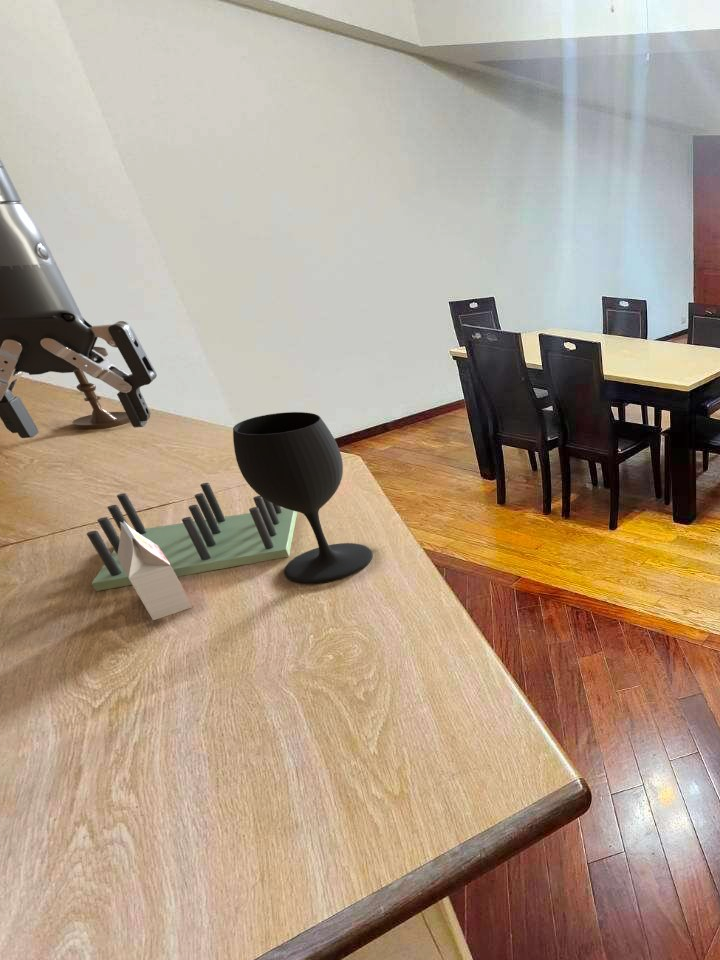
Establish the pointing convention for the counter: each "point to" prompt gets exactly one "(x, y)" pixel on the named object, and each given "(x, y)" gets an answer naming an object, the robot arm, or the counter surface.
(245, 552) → the rack
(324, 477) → the wine glass
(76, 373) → the candlestick
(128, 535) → the white milk carton
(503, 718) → the counter surface
